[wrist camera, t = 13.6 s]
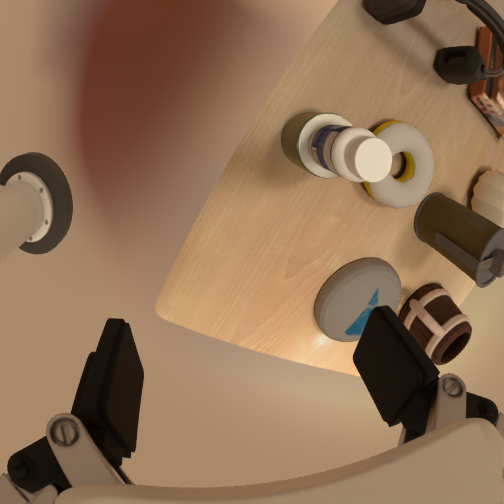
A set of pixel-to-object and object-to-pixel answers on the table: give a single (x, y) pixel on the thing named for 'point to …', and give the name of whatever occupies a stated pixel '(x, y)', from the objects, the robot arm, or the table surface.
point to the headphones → (452, 58)
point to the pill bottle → (351, 153)
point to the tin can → (307, 140)
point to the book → (490, 81)
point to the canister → (462, 237)
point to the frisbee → (355, 297)
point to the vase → (490, 197)
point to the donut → (417, 166)
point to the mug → (436, 323)
